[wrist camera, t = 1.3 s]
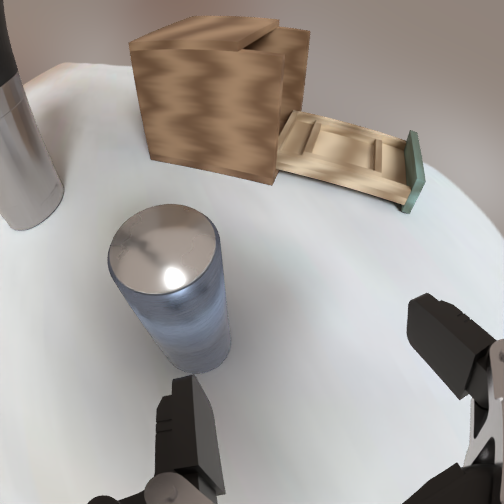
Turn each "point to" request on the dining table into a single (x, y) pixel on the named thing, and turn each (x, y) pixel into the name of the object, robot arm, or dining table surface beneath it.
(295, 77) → the walnut box
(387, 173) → the wooden drawer
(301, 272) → the dining table surface
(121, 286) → the can
